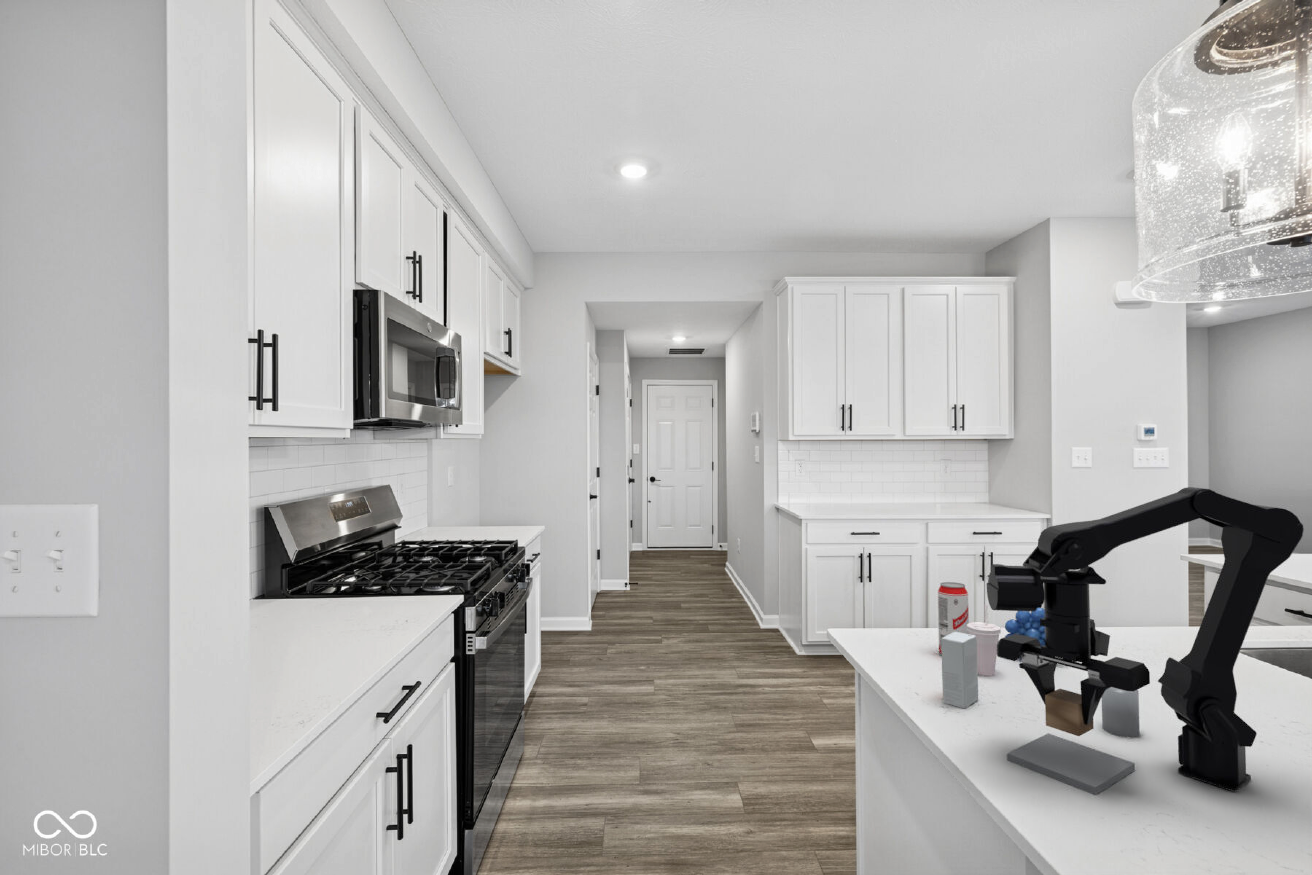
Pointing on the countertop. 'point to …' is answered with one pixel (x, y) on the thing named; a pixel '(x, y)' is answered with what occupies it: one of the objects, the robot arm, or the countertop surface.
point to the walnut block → (1065, 712)
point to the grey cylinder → (1121, 712)
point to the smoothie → (985, 644)
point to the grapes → (1027, 625)
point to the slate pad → (1071, 763)
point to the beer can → (952, 609)
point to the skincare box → (959, 669)
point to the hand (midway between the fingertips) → (1069, 718)
